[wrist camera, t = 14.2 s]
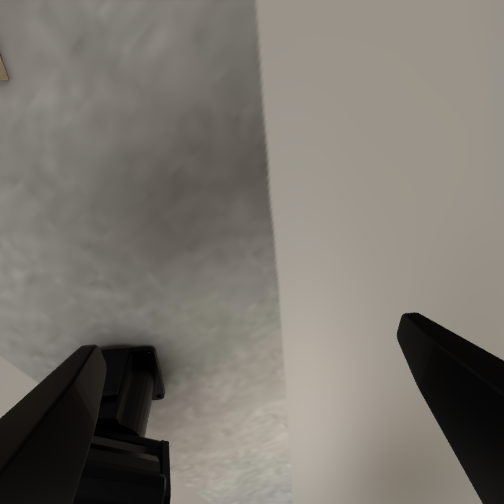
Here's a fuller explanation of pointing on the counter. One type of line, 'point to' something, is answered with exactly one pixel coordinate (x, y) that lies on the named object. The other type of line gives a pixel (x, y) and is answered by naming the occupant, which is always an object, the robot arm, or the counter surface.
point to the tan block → (2, 71)
